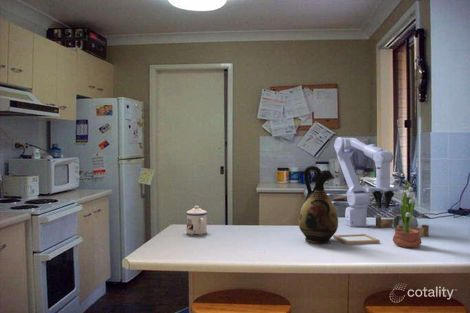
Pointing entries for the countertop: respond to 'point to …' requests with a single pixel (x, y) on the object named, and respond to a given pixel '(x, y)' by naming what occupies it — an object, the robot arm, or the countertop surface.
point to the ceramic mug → (398, 221)
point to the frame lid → (356, 239)
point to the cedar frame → (389, 223)
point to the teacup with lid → (196, 221)
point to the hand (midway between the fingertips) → (383, 208)
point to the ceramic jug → (318, 209)
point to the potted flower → (407, 222)
